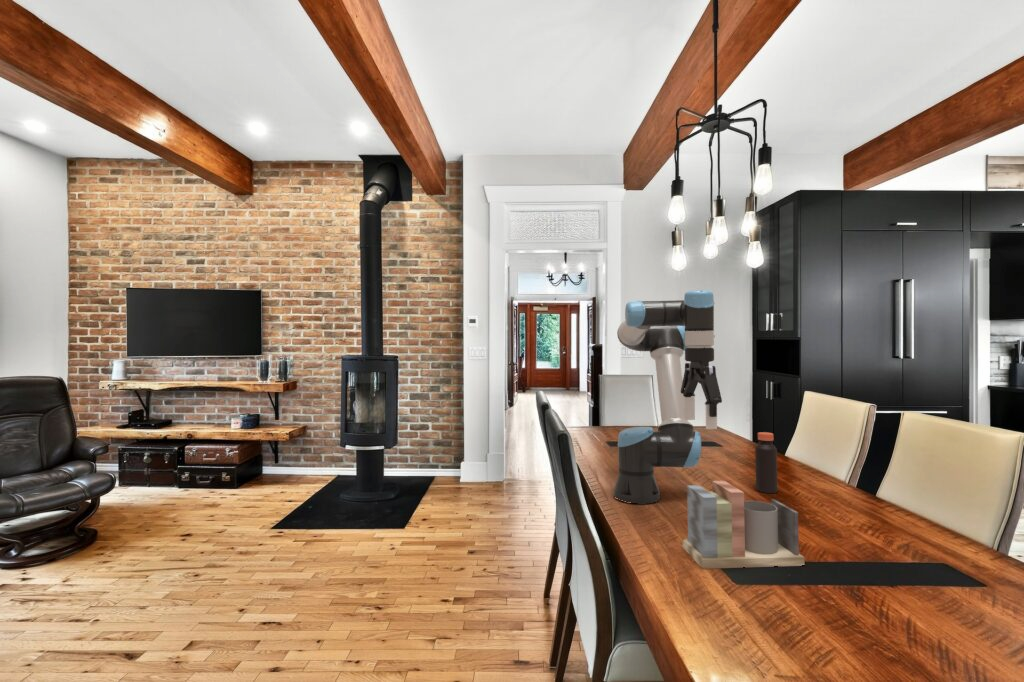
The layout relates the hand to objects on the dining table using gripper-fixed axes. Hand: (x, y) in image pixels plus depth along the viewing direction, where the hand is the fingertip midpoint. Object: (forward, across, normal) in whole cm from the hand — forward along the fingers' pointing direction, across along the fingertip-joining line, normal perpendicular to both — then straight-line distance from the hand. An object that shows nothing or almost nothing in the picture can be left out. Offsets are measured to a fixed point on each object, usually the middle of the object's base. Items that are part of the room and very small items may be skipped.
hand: (700, 424), depth 136 cm
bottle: (+31, +34, -39) cm, 60 cm away
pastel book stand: (+29, -17, -2) cm, 34 cm away
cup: (+27, -17, -7) cm, 33 cm away
